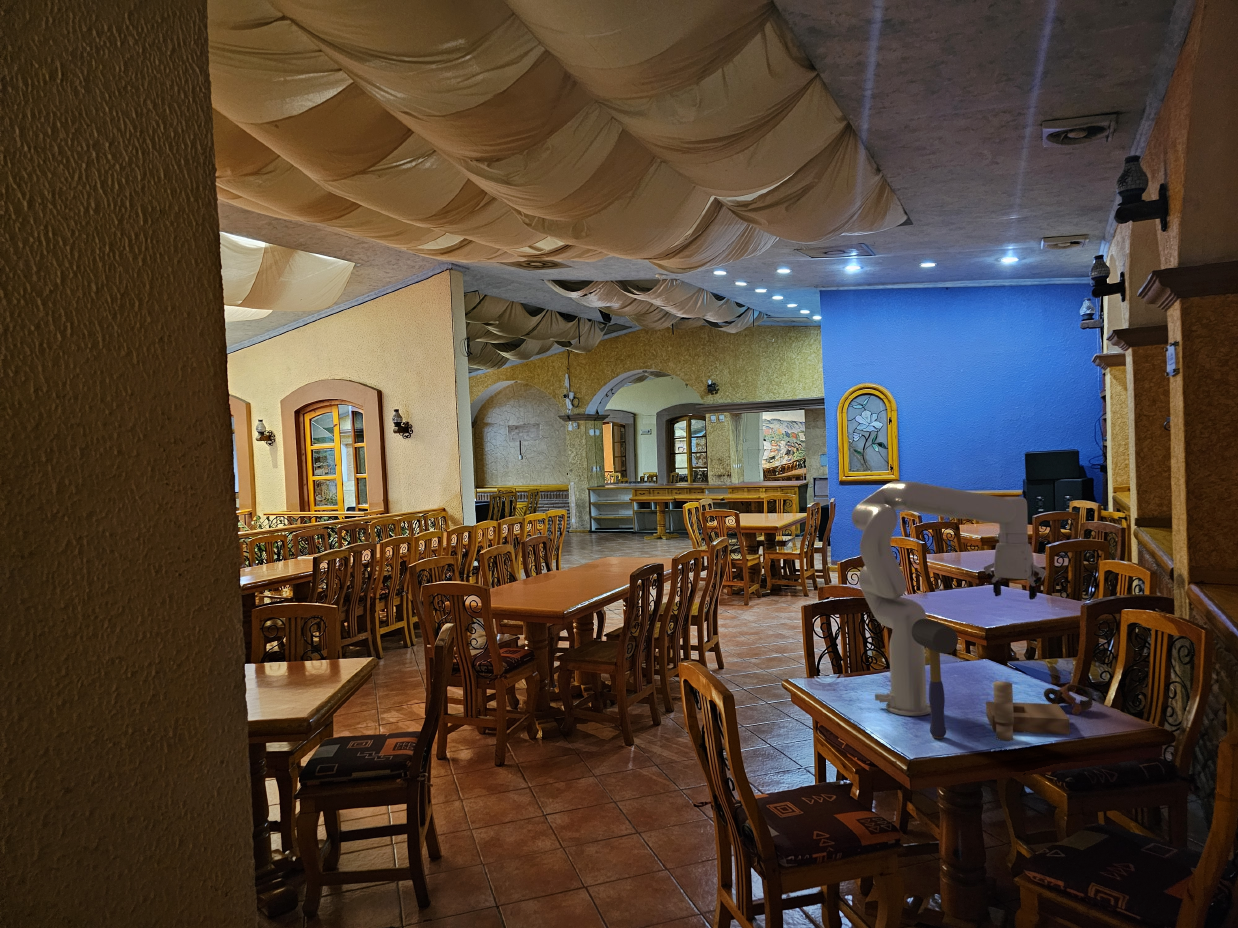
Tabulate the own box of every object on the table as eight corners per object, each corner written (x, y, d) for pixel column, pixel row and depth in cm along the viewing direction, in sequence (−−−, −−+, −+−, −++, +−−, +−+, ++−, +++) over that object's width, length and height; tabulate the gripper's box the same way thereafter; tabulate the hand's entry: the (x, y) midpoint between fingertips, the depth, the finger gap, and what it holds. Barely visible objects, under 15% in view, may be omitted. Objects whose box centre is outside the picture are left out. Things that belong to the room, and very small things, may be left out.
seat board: (993, 730, 218) (992, 715, 218) (986, 715, 230) (985, 701, 230) (1069, 734, 213) (1069, 718, 213) (1058, 718, 225) (1058, 703, 225)
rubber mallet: (912, 731, 220) (908, 617, 220) (939, 728, 221) (935, 615, 221) (937, 746, 208) (932, 626, 208) (965, 744, 209) (960, 624, 209)
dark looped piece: (1081, 706, 237) (1092, 684, 233) (1088, 730, 229) (1099, 708, 225) (1036, 694, 239) (1046, 673, 235) (1041, 718, 231) (1052, 696, 227)
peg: (996, 740, 211) (994, 685, 210) (993, 734, 215) (991, 680, 215) (1016, 741, 209) (1014, 686, 209) (1013, 735, 214) (1011, 681, 214)
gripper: (978, 538, 249) (980, 596, 249) (1040, 541, 237) (1042, 602, 237) (988, 536, 254) (989, 593, 254) (1049, 539, 242) (1050, 598, 242)
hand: (1014, 597), depth 245 cm, fingers open, 9 cm apart
